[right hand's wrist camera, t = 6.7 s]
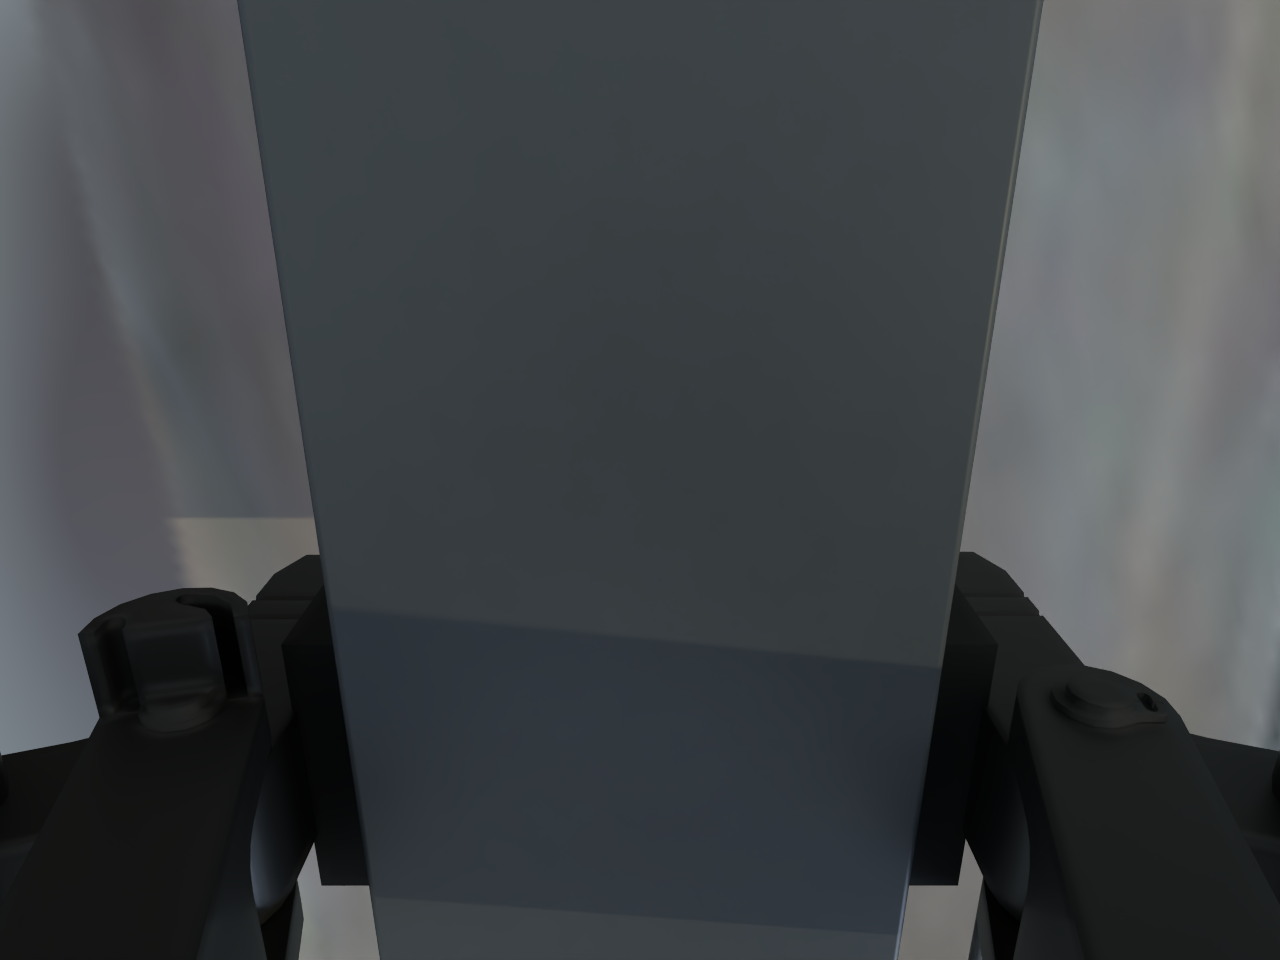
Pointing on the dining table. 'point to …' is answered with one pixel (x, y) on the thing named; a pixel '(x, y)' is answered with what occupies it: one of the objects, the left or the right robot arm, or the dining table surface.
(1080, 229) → the dining table surface
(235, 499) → the dining table surface
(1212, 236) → the dining table surface
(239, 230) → the dining table surface
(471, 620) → the post
